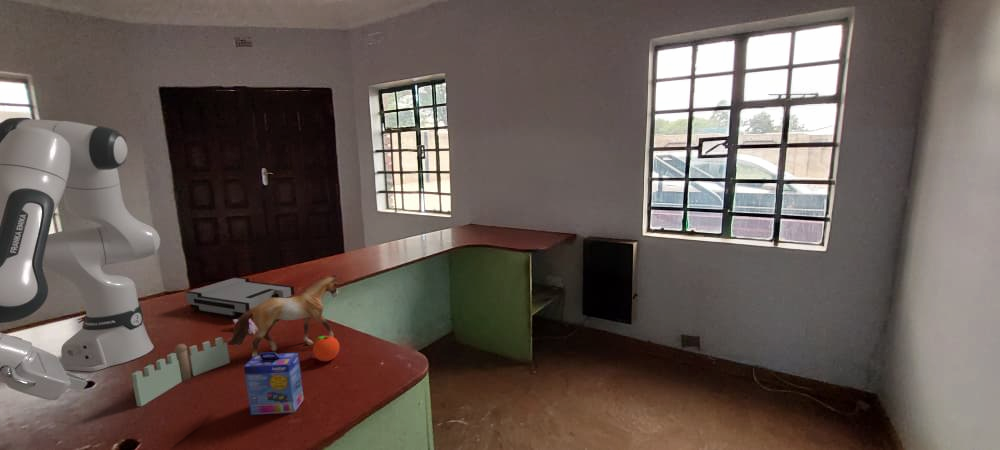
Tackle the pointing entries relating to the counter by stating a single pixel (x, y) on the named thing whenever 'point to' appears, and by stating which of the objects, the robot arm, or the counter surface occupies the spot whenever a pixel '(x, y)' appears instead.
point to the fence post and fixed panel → (201, 358)
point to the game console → (234, 296)
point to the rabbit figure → (250, 326)
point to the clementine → (326, 348)
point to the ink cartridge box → (274, 383)
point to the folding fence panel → (156, 379)
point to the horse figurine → (286, 312)
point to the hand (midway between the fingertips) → (83, 384)
